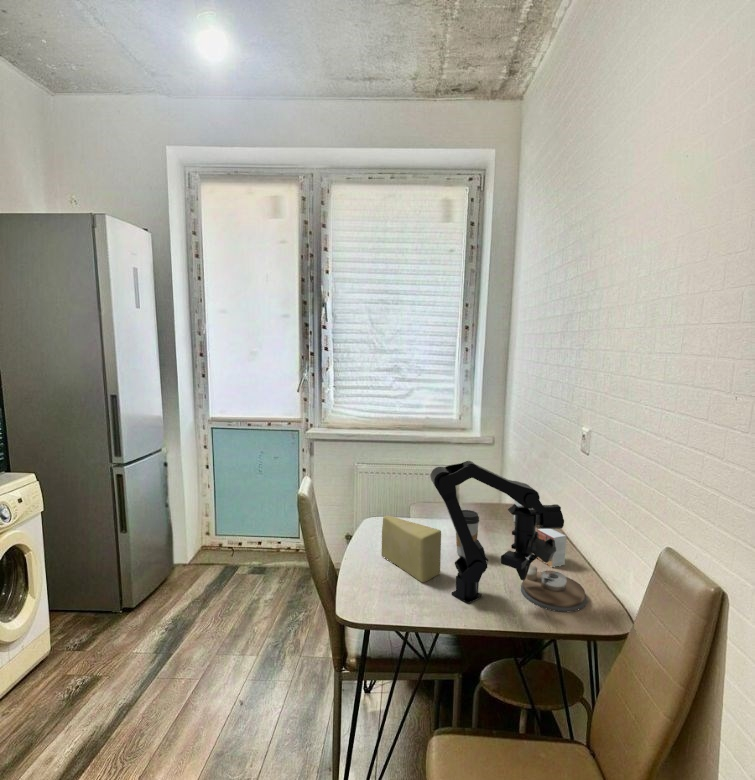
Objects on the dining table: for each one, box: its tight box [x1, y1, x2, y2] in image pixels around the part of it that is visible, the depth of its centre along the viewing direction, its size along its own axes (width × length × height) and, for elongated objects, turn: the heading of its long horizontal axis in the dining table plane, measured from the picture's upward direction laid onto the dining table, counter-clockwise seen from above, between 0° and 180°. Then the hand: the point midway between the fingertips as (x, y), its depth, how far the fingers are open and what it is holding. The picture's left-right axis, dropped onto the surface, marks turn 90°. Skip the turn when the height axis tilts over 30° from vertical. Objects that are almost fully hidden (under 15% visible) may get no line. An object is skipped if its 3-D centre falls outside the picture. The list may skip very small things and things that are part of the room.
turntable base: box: [520, 581, 587, 613], centre depth 132 cm, size 18×19×1 cm
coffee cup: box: [455, 509, 480, 558], centre depth 156 cm, size 8×8×15 cm
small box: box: [536, 528, 567, 568], centre depth 152 cm, size 8×6×10 cm
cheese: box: [381, 515, 442, 583], centre depth 147 cm, size 22×10×15 cm, turn 44°
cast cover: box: [541, 570, 567, 592], centre depth 131 cm, size 7×7×3 cm
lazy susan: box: [522, 564, 586, 607], centre depth 131 cm, size 17×17×5 cm
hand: (522, 579), depth 130 cm, fingers closed
